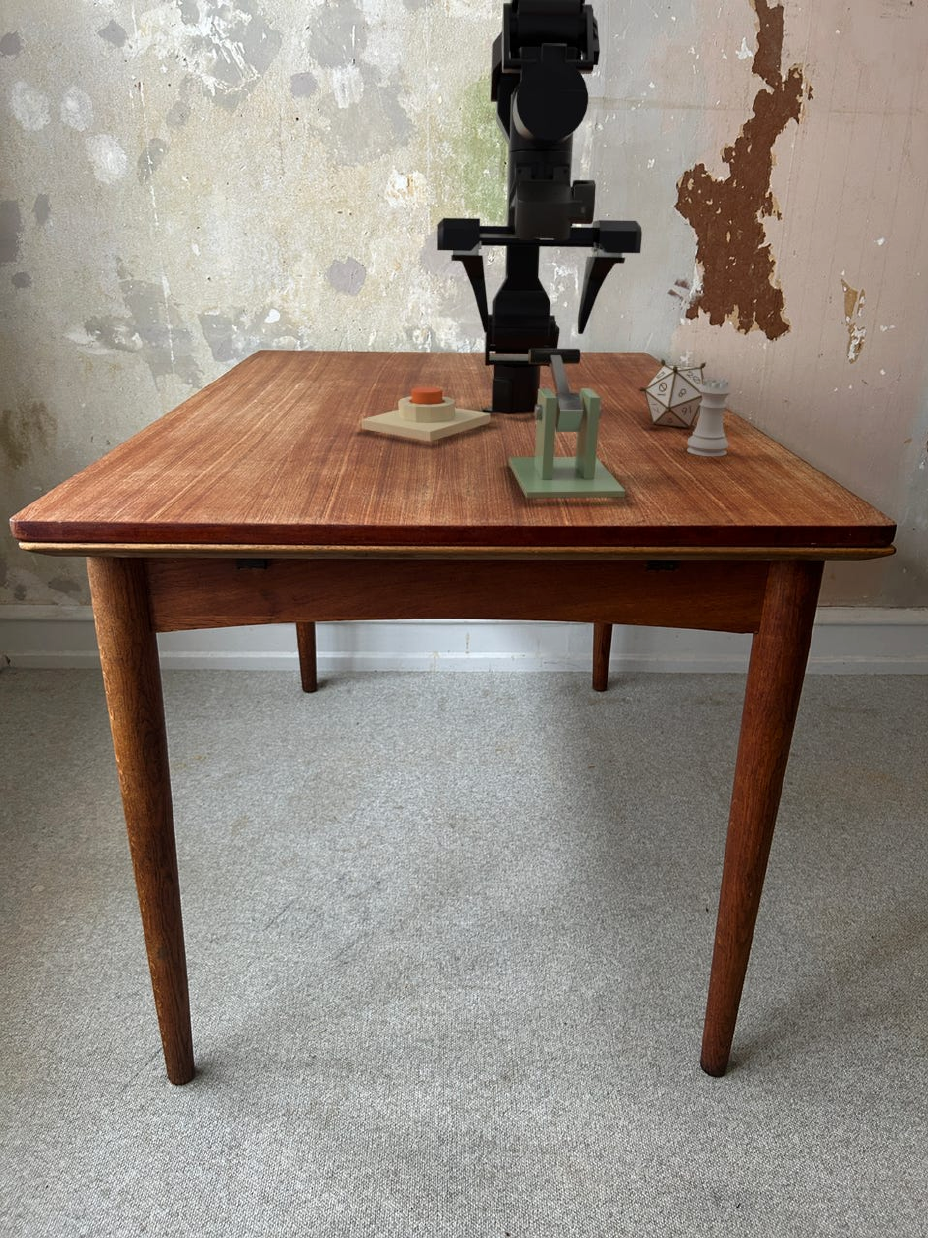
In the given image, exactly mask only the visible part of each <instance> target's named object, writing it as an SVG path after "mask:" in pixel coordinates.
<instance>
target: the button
mask: <svg viewBox="0 0 928 1238" xmlns="http://www.w3.org/2000/svg"><path fill="white" fill-rule="evenodd" d="M410 393H411V396H412V403H414V404H424V405H432V404H441V403H442V397H443V388H441V387H436V386H416V387H413V388H411V391H410Z"/></svg>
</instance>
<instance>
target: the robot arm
mask: <svg viewBox="0 0 928 1238" xmlns="http://www.w3.org/2000/svg"><path fill="white" fill-rule="evenodd" d="M594 15H595V14H594V8H593V4H590V3H589V4H587V3H586V0H510V1H509V2H503V3H502V19H501V32H500V33H499V34H498V35H497V37H496V38H495V39H494V41H493V42H492V45H491V65H490V66H491V67H490V68H491V69H490V103H495V122H496V125H497V126H498V128H499V130H500V132H501V134H502V136H503V138H504V140H505V142H506V144H507V179H506V185H507V186H506V218H505V225H481V218H477V217H476V218H475V217H474V218H473V217H471V218H470V217H443V218H442V219H441V220H440V221H439V222H438V223H437V226H436V227H437V228H436V249H437V250H436V251H452V254H451V256H450V261H451V262H461V264H462V265H463V268H464V270H465V272H466V275H467V279H468V280H469V283H470V286H471V287H472V290H473V294H474V299H475V302H476V305H477V309H478V313H479V317H480V321H481V324H482V328H483V333H485V334H484V366H485V367H490V366H493V373H492V374H493V376H492V387H491V388H492V389H491V390H492V391H491V393H492V394H491V405H490V406H487V407H484V408H482V410H481V412H484V413H490V414H491V413H492V414H493V413H500V414H506V415H510V414H512V415H516V414H528V413H535V405H538V389H539V388H541V371H542V370H541V369H542V368H541V367H547V368H548V367H549V368H550V365H549V364H529V360H528V354H529V349H558V345H559V338H560V330H561V329H560V327H559V326H558V324H557V321H556V316H555V315H554V314H553V315H552V314H551V305H552V304H551V303H552V302H551V299H550V297H549V294H548V293H547V291H546V289H545V287H544V285H543V283H542V281H541V280H540V278H539V276H540V275H539V273H540V252H541V251H540V248H541V247H542V248H543V247H544V248H546V247H547V248H548V247H549V248H552V247H553V248H590V249H591V250H590V251H591V256H586V261H585V267H584V274H583V282H582V286H581V287H582V289H581V295H580V303H579V308H578V316H577V334H579V335H583V334H584V332H585V329H586V328H587V327H586V326H587V325H588V321H589V318H590V316H591V313H592V310H593V309H594V306H595V303H596V300H597V297H598V295H599V293H600V290H601V288H602V287H603V285H604V282H605V280H606V279H607V277H608V275H609V274H610V272H611V271H612V269H613V267H614V266H615V265H616V264H621V265H622V264H625V262H626V257H623V254H641V249H642V238H643V237H642V235H643V233H642V227H641V225H640V224H639V223H638V221H637V220H615V219H612V220H608V219H607V220H606V219H599V220H594V217H595V205H596V189H597V188H596V187H597V184H596V182H595V179H574V180H572V167H573V166H572V165H573V149H574V148H573V147H574V132H575V131H576V130H577V129H578V128H579V126H580V125H581V123H582V122H583V121H584V118H585V116H586V113H587V110H588V105H589V92H588V88H587V83H586V81H585V78H584V77H583V75H591V74H592V73H593V71H594V67H595V66H598V65H599V61H600V53H601V48H600V47H601V46H600V35H599V26H598V25H599V24H598V20H597V18H596V17H595V16H594ZM573 225H591V227H590V226H589V227H586V226H585V227H582V226H581V227H580V226H575V227H574V226H573ZM482 247H505V254H504V255H505V258H504V259H505V260H504V261H505V262H504V279H503V281H502V283H501V284H500V287H499V288H498V290H497V291H496V293H495V295H494V297H493V299H492V301H491V314H489V306H488V296H487V295H488V293H487V285H486V276H485V265H484V255H482V254H480V250H482ZM491 353H494V354H491Z"/></svg>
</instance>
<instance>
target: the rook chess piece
mask: <svg viewBox="0 0 928 1238" xmlns="http://www.w3.org/2000/svg"><path fill="white" fill-rule="evenodd" d="M699 391H700V393H701V395H702V401H701V403H700V404H699V405H700V407H701V408H700V415H699V417H698V418H697V424H696V426H695V428H694V431H693V432H692V435H691V436H690V437H689V438H688V439H687V441H686V444H687V445H688V448H687V449H686V451H687V452H688V453H690V454H692V455H696V456H703V457H721V456H726V454H728V452H727V451H726V449H727V448H728V447H729V442H728V440H727V439H726V433H725V429H724V414H725V408H727V405H726V398H727V397H728V396H729V395H730V394H731V393H732V390H730V388H729V381H728V380H725V379H719V382H717V378H711V381H710V379H708V378H707V379H704V380H703V385H702V386H701V388H700V389H699Z"/></svg>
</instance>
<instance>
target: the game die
mask: <svg viewBox="0 0 928 1238" xmlns="http://www.w3.org/2000/svg"><path fill="white" fill-rule="evenodd" d="M660 363H661V365H662V367H661V368H660V369H659V370H658V372H657V373H656V374H655V376H654V377H653V378H652V379H651V380H650V382H649V383H648V384H647V385H646V386H645V387H644V386H640V387H638V388H637V390H638V391H639V392H644V396H645V399H646V402H647V406H648V410H649V413H650V417H651V420H652V421H651V422H652V423H650V426H665V427H676V428H685V429H689V430H693V429H694V428H693V427H692V426H693V425H694V424H695V423H696V421H698V419H699V415H700V408H701V407H700V405H699V404H700V403H701V401H702V395H701V393H700V391H699V389H700V388H701V386H702V385H703V380H704V381H705V377H704V373H703V369H705V367H706V365H707V361H704V362H701V364H700V366H688V365H687V366H686V365H674V364H666V360H665V359H663V358H661V360H660Z"/></svg>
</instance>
